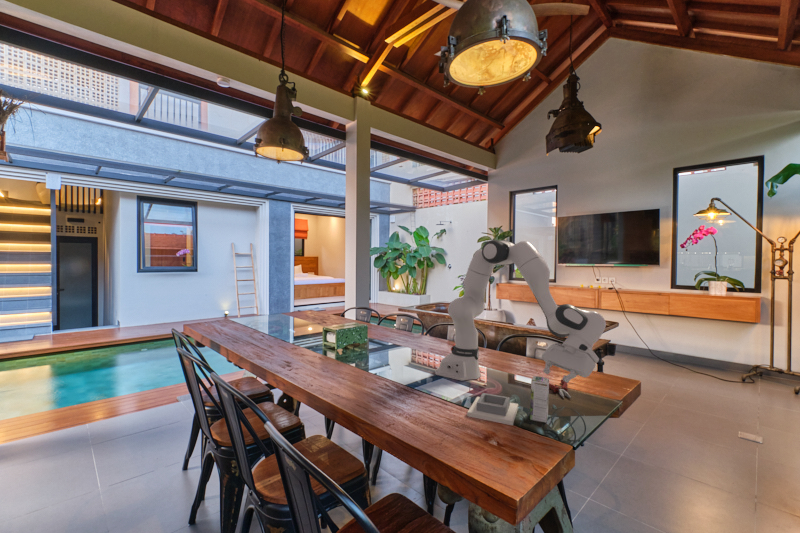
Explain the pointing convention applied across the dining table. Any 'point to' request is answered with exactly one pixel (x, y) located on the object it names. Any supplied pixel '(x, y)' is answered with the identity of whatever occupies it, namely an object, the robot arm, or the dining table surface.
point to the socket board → (493, 409)
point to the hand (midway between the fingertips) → (554, 376)
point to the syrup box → (539, 399)
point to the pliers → (561, 391)
